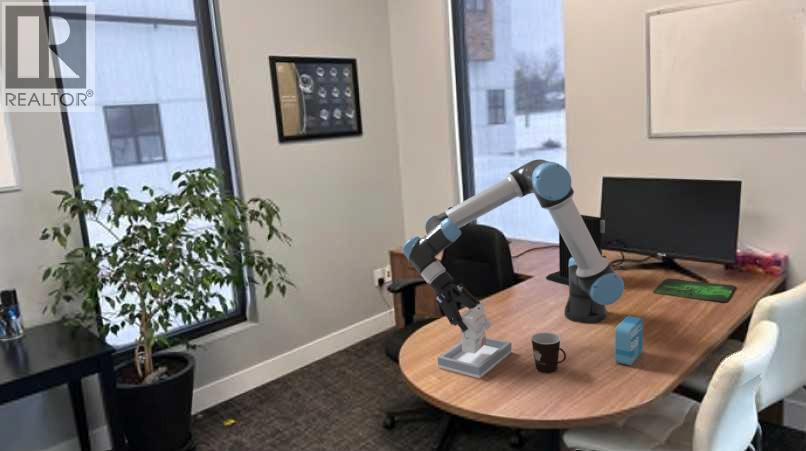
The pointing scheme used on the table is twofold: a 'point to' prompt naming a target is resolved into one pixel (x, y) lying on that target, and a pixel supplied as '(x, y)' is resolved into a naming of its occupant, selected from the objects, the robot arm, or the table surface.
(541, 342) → the coffee mug
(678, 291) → the mouse mat
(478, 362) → the docking bay
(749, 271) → the table surface
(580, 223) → the robot arm
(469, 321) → the ink cartridge box
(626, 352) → the data package
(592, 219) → the ribbed black tower
